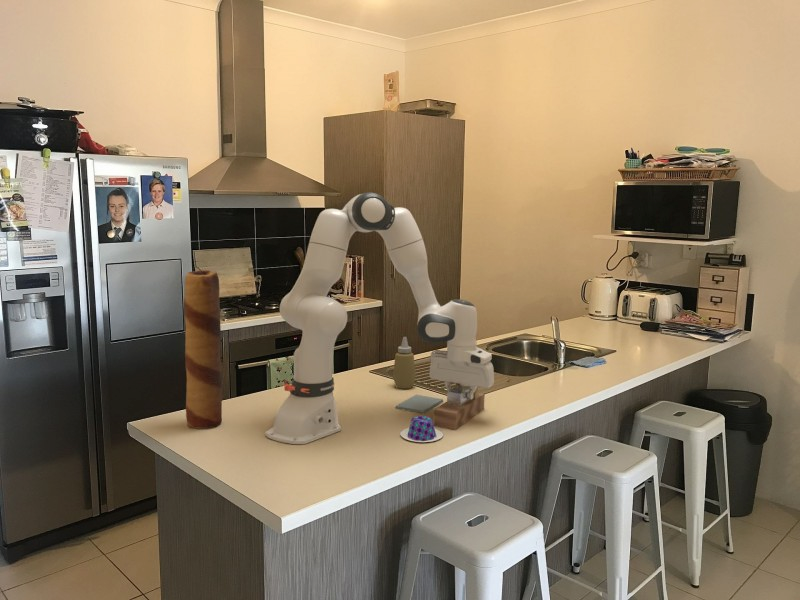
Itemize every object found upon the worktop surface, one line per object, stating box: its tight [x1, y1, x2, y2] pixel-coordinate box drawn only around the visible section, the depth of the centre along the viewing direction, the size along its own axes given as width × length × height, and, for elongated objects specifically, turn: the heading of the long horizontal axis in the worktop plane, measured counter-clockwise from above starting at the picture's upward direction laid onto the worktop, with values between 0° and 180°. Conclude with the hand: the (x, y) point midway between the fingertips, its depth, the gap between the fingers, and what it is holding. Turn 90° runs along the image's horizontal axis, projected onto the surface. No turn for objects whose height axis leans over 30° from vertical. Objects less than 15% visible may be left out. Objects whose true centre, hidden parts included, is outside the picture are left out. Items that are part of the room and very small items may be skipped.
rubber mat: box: [395, 394, 444, 414], centre depth 212 cm, size 14×10×1 cm
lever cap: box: [446, 384, 472, 407], centre depth 200 cm, size 10×4×5 cm, turn 151°
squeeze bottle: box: [392, 336, 417, 390], centre depth 230 cm, size 8×8×18 cm
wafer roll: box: [183, 269, 223, 429], centre depth 189 cm, size 10×11×45 cm
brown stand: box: [433, 383, 486, 431], centre depth 200 cm, size 22×7×11 cm, turn 151°
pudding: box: [400, 415, 444, 443], centre depth 184 cm, size 12×12×5 cm
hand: (460, 397), depth 200 cm, fingers open, 5 cm apart
